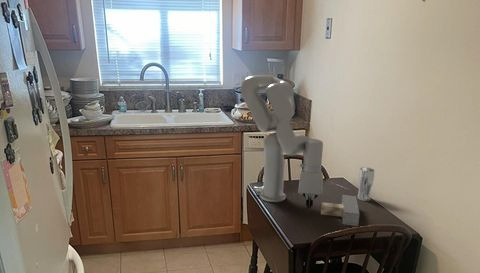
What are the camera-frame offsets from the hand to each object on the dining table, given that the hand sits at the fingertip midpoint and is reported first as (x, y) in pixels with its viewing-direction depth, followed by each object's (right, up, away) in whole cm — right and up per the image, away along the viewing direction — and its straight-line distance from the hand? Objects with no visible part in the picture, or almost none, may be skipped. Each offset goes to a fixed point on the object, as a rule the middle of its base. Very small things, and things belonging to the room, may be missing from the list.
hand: (309, 207), depth 165 cm
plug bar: (+11, -3, -2) cm, 12 cm away
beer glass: (+29, +1, +16) cm, 34 cm away
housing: (+17, -3, -3) cm, 17 cm away
